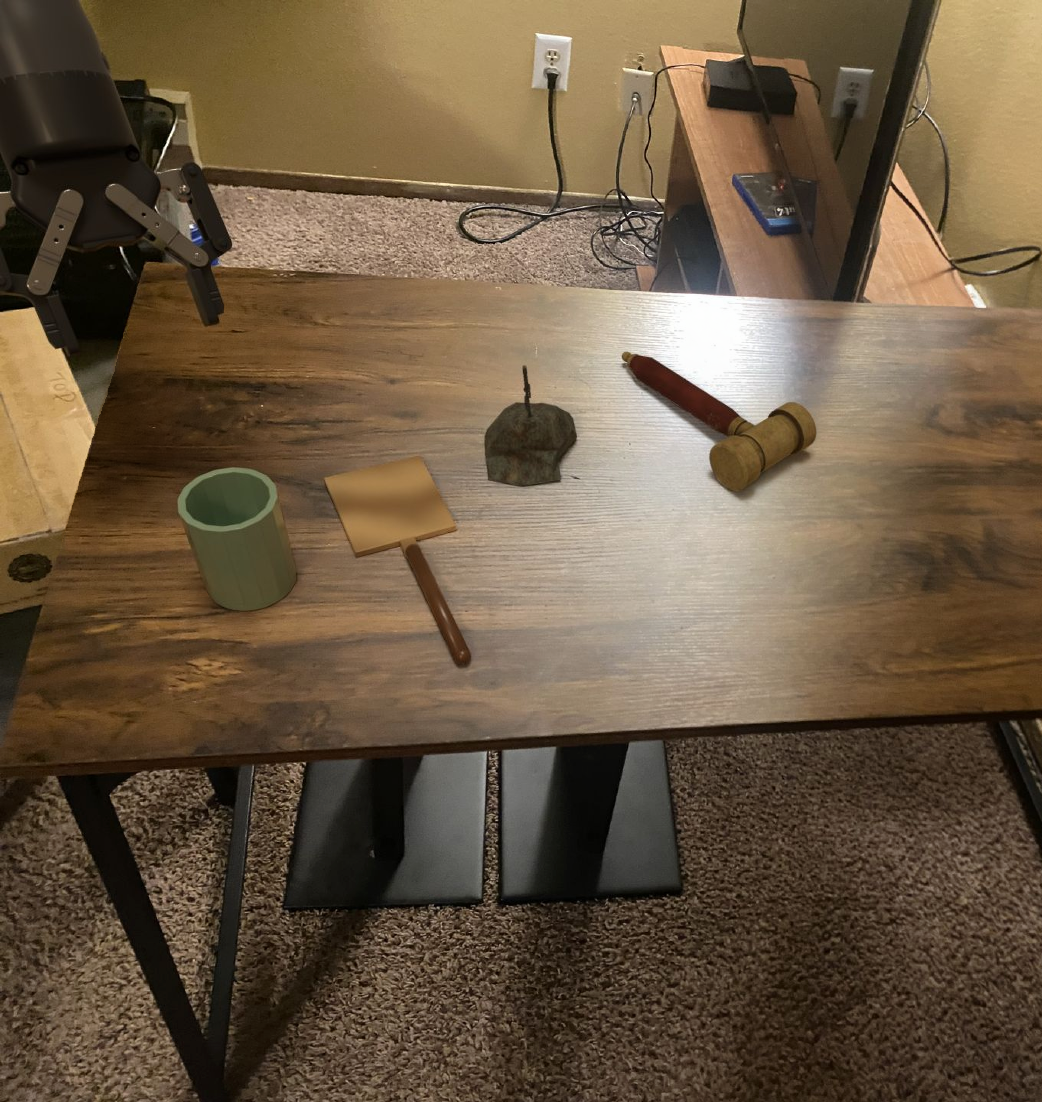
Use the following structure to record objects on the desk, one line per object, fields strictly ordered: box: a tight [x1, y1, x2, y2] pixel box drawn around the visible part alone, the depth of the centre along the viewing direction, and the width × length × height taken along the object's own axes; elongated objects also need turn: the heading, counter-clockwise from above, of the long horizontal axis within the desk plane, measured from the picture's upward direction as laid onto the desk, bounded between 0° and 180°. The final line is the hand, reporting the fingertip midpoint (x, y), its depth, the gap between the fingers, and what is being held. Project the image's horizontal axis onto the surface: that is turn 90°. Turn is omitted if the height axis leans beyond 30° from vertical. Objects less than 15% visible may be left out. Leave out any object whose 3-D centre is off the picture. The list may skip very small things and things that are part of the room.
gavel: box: [621, 351, 817, 492], centre depth 94 cm, size 21×5×10 cm
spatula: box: [323, 454, 472, 665], centre depth 77 cm, size 22×8×1 cm, turn 31°
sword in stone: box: [483, 364, 578, 487], centre depth 84 cm, size 10×8×12 cm
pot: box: [176, 466, 298, 612], centre depth 71 cm, size 6×6×8 cm
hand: (145, 339), depth 67 cm, fingers open, 8 cm apart
